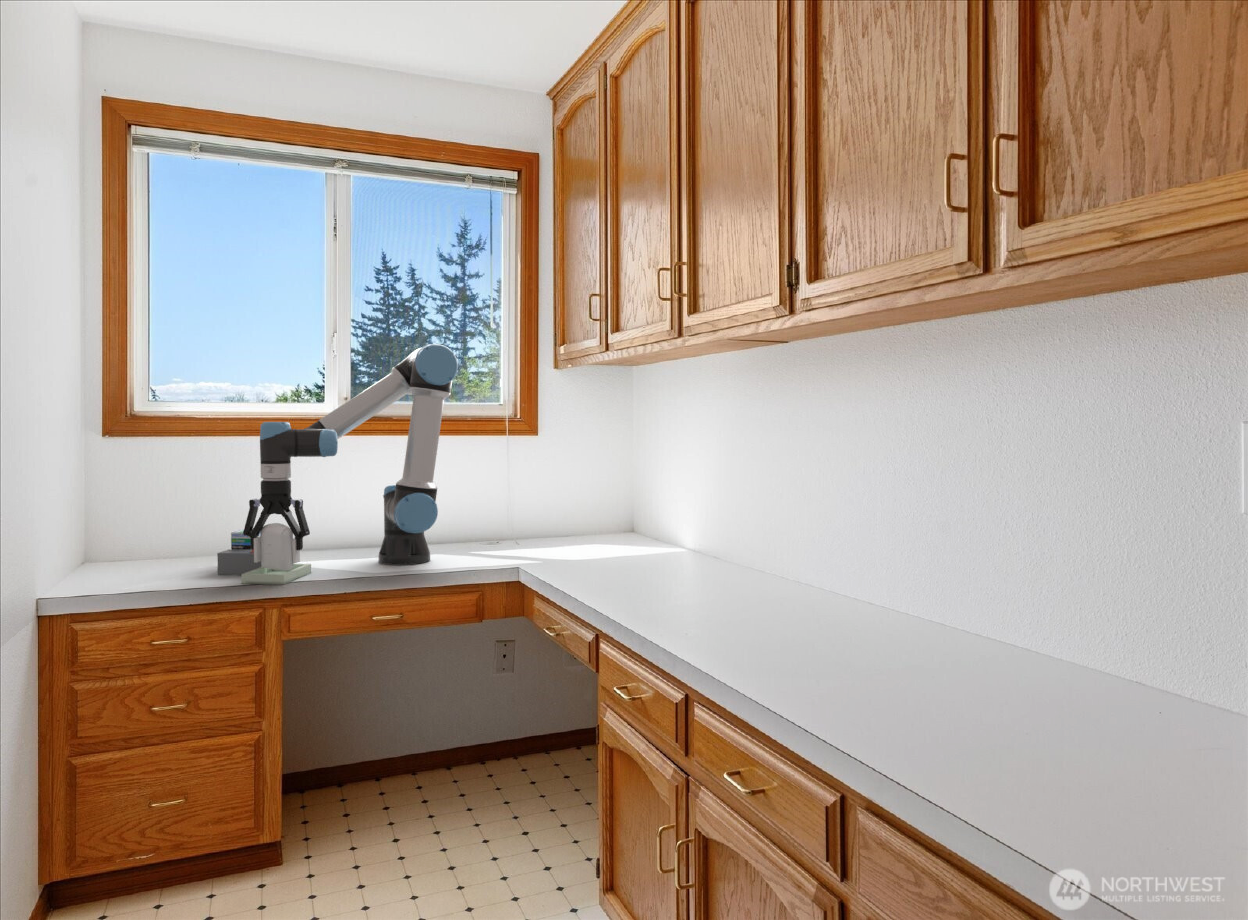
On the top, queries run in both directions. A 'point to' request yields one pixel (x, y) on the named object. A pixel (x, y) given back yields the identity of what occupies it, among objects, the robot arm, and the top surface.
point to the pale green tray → (275, 575)
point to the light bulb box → (240, 541)
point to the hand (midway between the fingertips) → (277, 561)
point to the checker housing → (236, 562)
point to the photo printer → (276, 547)
